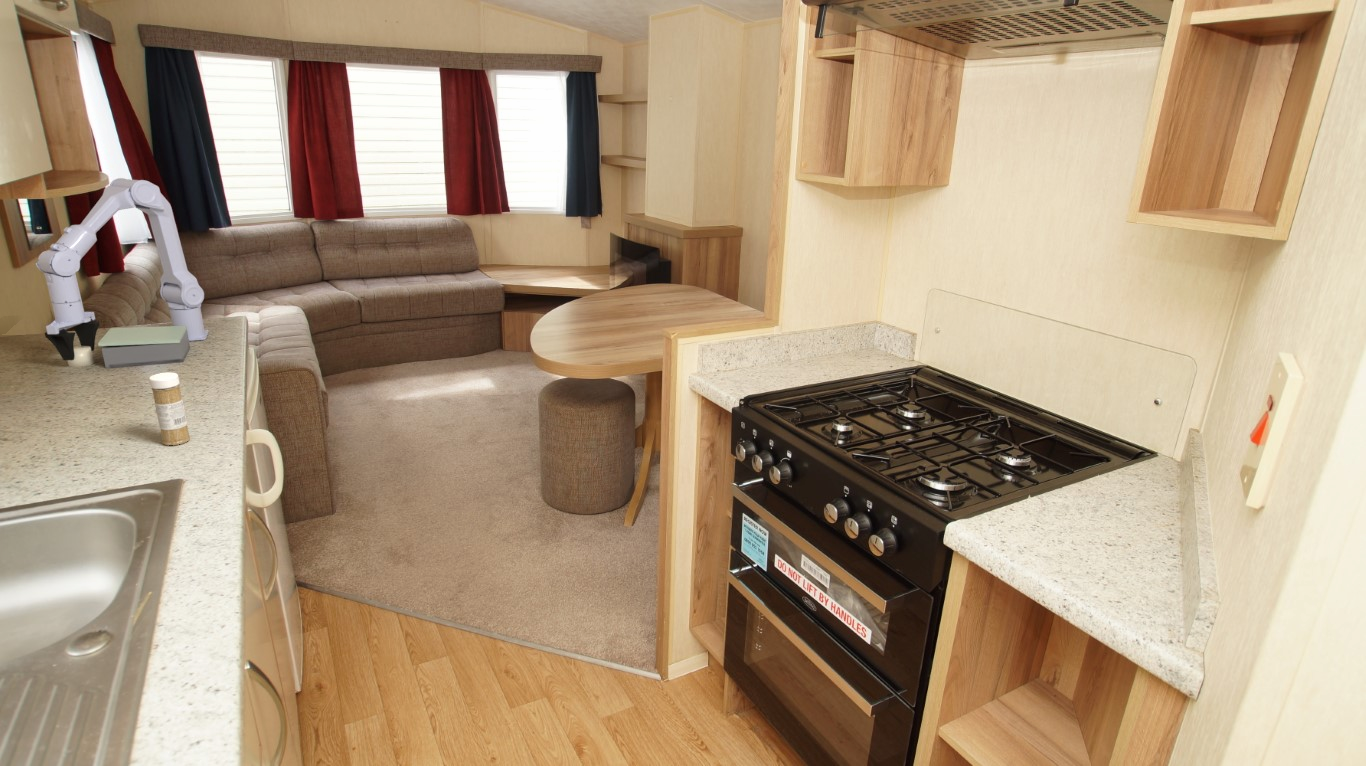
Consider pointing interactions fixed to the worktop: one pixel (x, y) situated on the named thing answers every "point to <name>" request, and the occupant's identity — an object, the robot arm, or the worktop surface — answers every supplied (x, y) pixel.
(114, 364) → the box
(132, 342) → the lid
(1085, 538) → the worktop surface
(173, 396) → the sprinkles bottle
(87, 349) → the cream rounded cup
